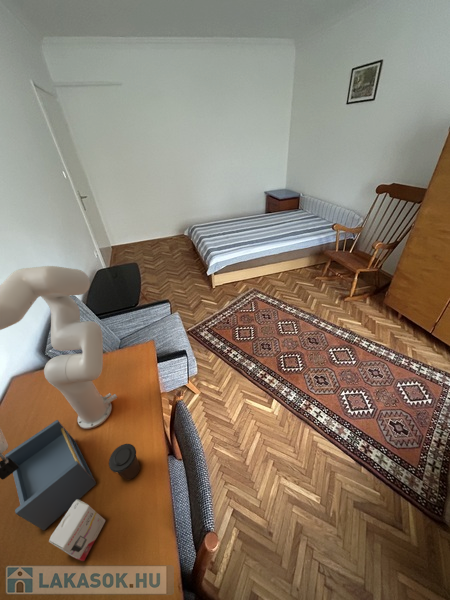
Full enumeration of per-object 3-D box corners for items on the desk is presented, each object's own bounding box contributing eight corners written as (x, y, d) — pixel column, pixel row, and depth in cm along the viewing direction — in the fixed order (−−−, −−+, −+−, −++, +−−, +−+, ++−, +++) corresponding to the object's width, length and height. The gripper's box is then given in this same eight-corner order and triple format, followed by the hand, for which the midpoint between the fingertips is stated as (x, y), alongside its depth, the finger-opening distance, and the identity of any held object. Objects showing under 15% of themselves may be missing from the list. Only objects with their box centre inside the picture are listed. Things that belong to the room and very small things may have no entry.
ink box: (83, 562, 62) (62, 551, 55) (69, 554, 63) (46, 542, 57) (107, 519, 68) (90, 504, 62) (93, 513, 70) (75, 498, 63)
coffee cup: (119, 490, 74) (107, 476, 69) (117, 463, 81) (107, 449, 75) (145, 477, 77) (136, 462, 71) (142, 452, 83) (133, 437, 77)
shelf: (75, 440, 88) (57, 419, 81) (96, 483, 76) (77, 463, 69) (28, 475, 80) (3, 455, 72) (43, 530, 68) (15, 513, 60)
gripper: (-10, 427, 47) (34, 468, 56) (-28, 386, 57) (13, 427, 66) (-63, 462, 42) (-5, 500, 51) (-72, 410, 52) (-22, 450, 61)
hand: (5, 459), depth 58 cm, fingers open, 9 cm apart
